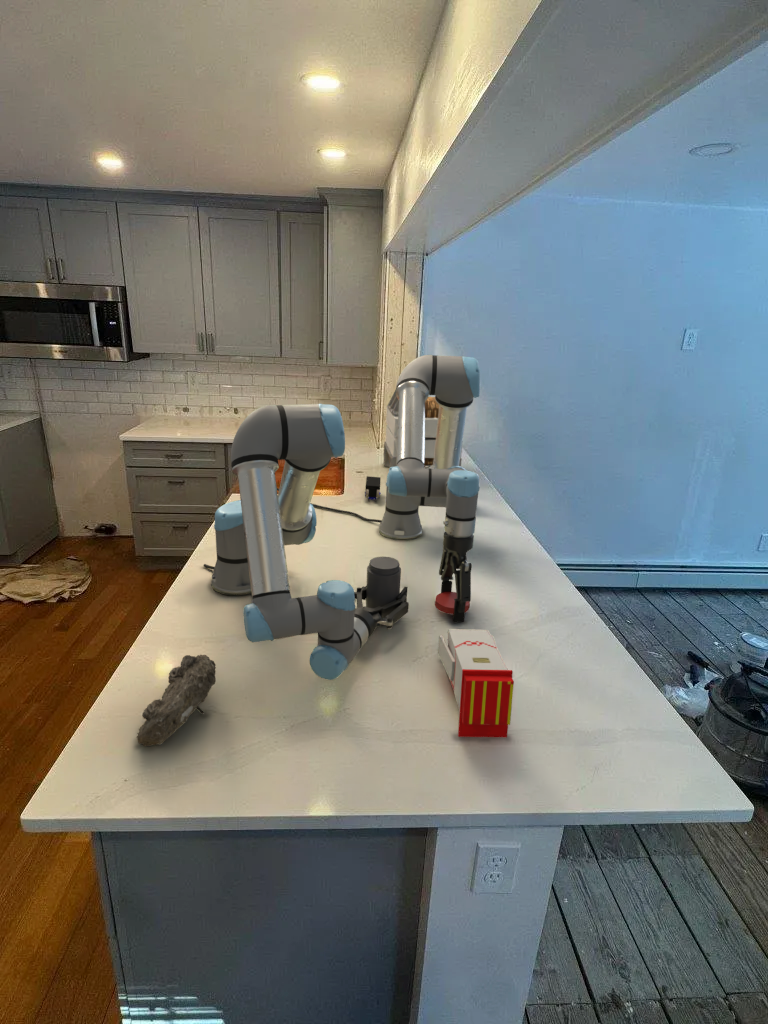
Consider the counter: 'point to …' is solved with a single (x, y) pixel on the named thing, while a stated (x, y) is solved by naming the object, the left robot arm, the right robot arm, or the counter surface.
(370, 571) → the jar
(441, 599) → the lid
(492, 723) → the toy
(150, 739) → the fossil
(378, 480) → the figurine character
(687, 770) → the counter surface
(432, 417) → the white storage crate
